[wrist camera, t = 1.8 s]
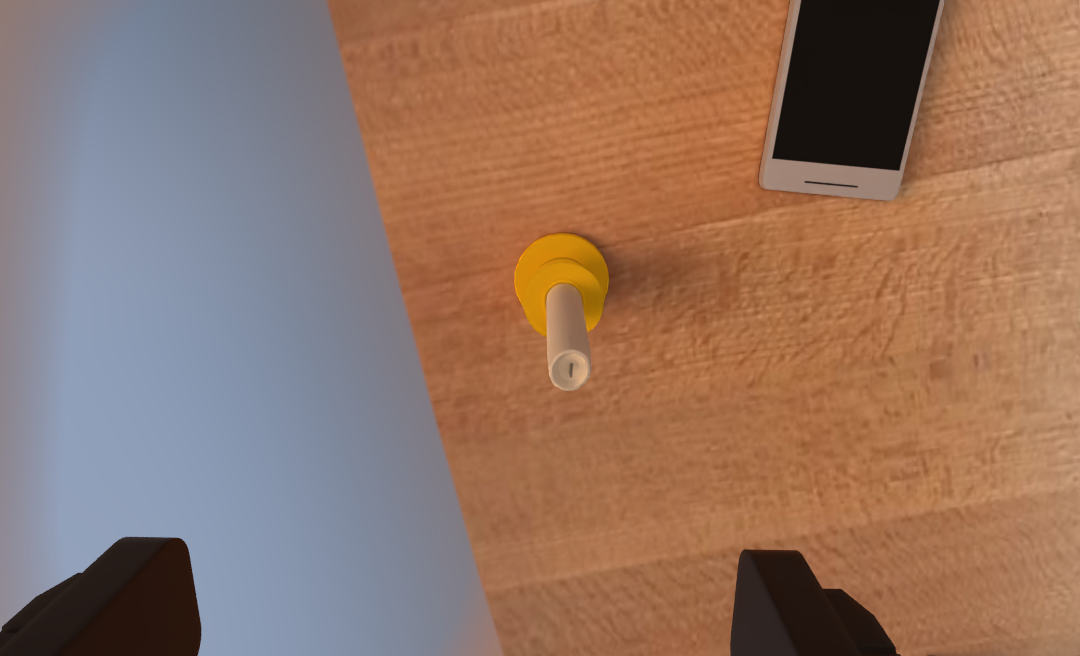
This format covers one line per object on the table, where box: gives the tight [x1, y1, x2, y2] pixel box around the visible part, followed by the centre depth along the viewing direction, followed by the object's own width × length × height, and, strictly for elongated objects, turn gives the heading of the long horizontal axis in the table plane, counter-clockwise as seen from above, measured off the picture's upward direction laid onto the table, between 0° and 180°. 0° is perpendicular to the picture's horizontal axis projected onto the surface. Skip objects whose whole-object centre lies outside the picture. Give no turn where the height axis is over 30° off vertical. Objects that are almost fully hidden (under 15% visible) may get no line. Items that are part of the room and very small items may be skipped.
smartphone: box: [759, 0, 945, 201], centre depth 32 cm, size 7×16×1 cm, turn 175°
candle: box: [514, 233, 609, 391], centre depth 29 cm, size 5×5×16 cm
